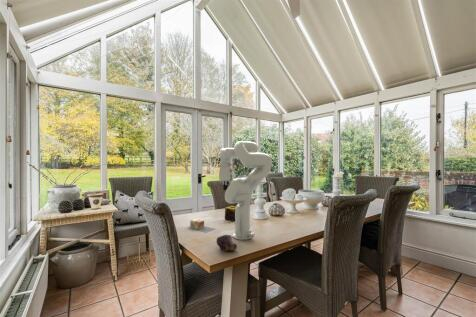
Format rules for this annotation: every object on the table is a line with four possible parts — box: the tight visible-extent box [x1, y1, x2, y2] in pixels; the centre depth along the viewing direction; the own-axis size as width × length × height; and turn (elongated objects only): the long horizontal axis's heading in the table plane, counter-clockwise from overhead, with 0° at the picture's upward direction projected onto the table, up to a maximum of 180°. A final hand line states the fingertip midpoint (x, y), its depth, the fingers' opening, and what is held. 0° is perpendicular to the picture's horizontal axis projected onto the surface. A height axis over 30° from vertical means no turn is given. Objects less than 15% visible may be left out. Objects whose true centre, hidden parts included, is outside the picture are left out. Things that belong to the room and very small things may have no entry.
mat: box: [186, 225, 216, 233], centre depth 160 cm, size 19×10×1 cm, turn 55°
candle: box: [224, 205, 237, 222], centre depth 186 cm, size 10×10×10 cm
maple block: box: [189, 218, 205, 229], centre depth 162 cm, size 5×5×9 cm
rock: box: [216, 234, 238, 252], centre depth 123 cm, size 12×9×10 cm
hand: (225, 190), depth 165 cm, fingers closed
